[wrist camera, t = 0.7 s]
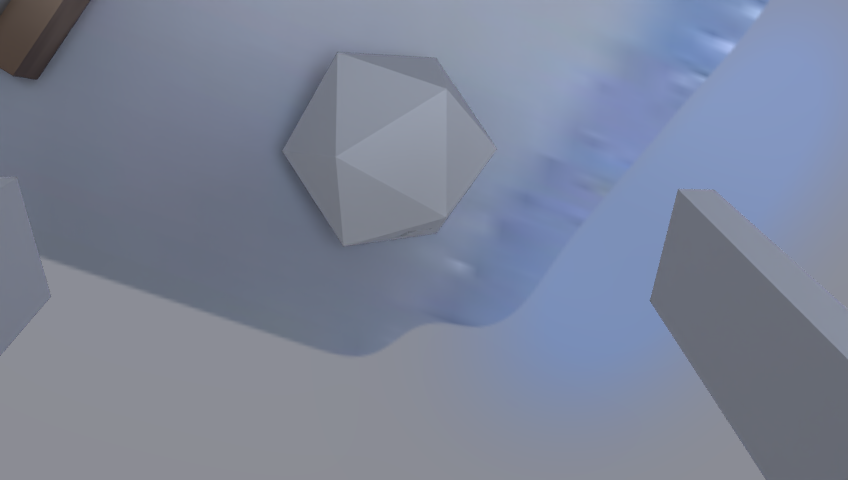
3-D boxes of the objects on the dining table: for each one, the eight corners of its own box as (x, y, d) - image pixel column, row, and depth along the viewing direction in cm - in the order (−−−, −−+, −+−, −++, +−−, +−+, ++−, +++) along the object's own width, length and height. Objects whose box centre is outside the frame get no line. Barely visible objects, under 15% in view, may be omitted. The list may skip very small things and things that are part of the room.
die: (252, 170, 32) (332, 309, 27) (281, 1, 27) (389, 127, 21) (391, 162, 37) (485, 278, 31) (439, 17, 32) (562, 124, 26)
